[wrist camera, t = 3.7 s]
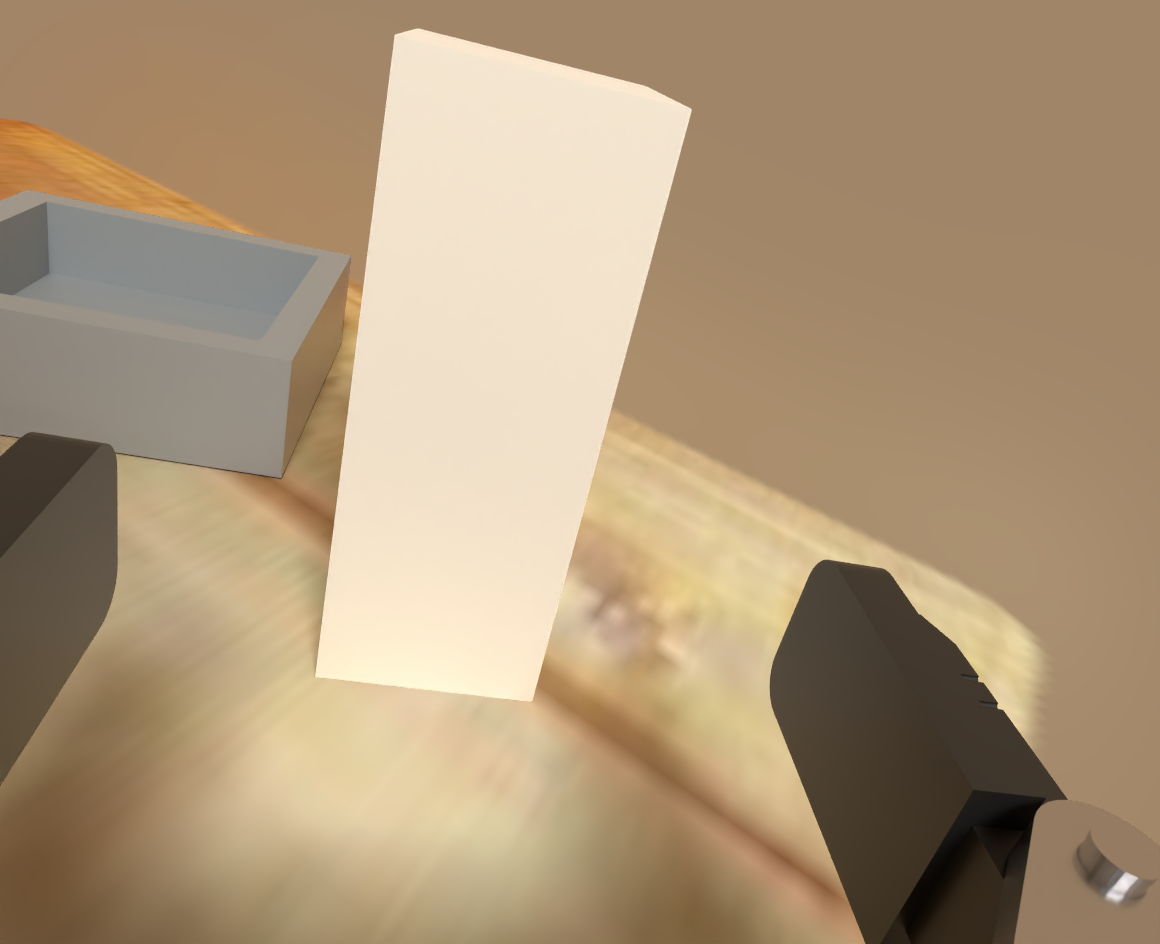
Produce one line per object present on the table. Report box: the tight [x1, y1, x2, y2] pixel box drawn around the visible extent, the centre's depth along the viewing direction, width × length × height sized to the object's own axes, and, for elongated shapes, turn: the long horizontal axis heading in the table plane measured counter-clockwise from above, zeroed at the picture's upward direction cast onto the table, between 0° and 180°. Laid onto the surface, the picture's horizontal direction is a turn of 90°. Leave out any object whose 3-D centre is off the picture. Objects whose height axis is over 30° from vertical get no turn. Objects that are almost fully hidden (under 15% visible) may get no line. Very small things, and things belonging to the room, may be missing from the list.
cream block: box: [315, 29, 692, 702], centre depth 18 cm, size 4×4×12 cm
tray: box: [0, 190, 351, 478], centre depth 27 cm, size 11×11×4 cm
